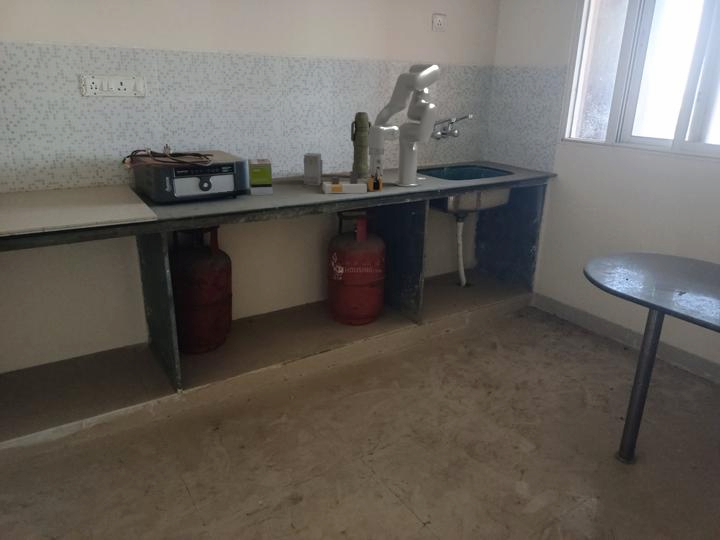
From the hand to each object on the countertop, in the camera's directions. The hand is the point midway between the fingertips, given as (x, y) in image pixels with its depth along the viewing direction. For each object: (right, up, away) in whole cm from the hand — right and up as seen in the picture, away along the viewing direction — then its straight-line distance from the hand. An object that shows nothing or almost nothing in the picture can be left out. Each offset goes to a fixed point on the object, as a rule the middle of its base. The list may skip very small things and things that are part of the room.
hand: (374, 188), depth 262 cm
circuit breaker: (-32, +5, +15) cm, 36 cm away
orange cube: (0, -1, 0) cm, 1 cm away
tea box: (-55, -4, -12) cm, 56 cm away
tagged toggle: (-19, -3, -7) cm, 21 cm away
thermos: (-7, +11, +33) cm, 36 cm away
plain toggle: (-11, 0, -6) cm, 12 cm away
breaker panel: (-15, -2, -6) cm, 16 cm away
